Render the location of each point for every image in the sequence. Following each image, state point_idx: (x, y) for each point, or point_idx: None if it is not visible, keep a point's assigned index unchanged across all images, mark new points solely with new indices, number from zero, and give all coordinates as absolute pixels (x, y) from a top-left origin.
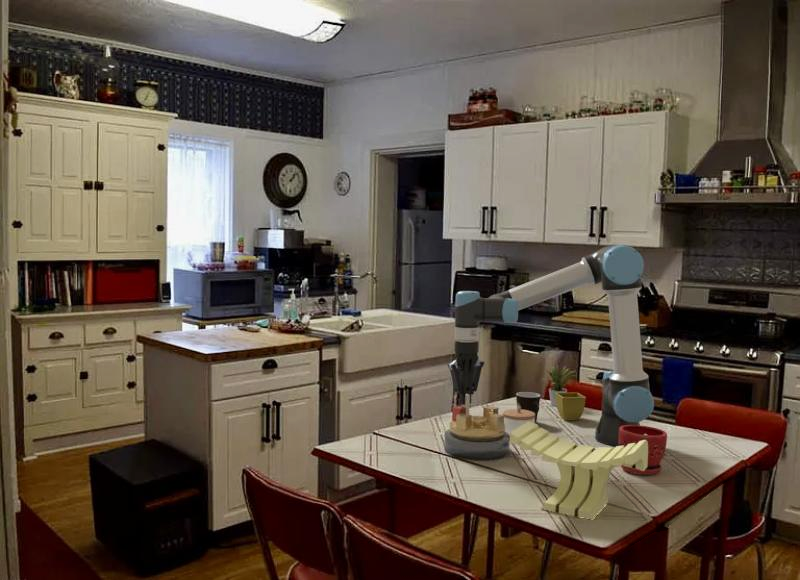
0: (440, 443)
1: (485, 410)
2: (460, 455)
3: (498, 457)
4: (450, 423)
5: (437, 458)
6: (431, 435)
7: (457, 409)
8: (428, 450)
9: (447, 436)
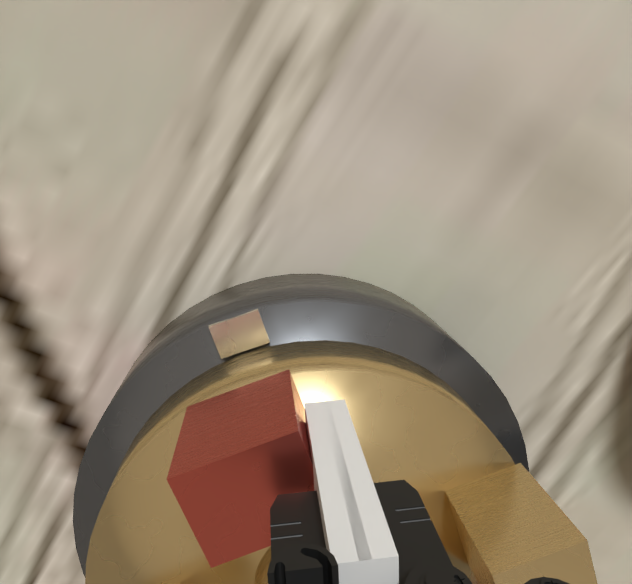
0: (170, 248)
1: (486, 574)
2: None
3: None
4: (112, 497)
5: (5, 502)
6: (207, 34)
7: (197, 533)
8: (17, 353)
9: (80, 494)
